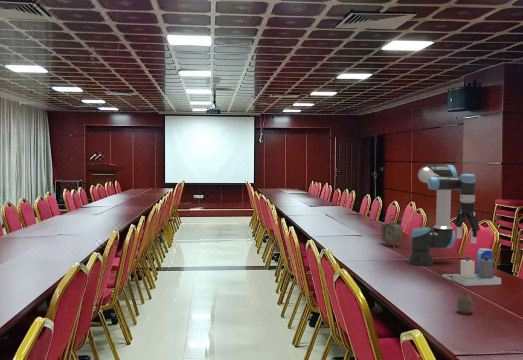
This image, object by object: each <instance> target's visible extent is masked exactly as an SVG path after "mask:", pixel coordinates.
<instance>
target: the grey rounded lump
mask: <svg viewBox="0 0 523 360" xmlns="http://www.w3.org/2000/svg"><path fill="white" fill-rule="evenodd" d="M456 309H457V311H458V312H459V313H461V314H465V315H466V314H467V315H468V314H471V313H472V311H473V309H474V301H473V299H472V298H471V296H470V295H469V292H464V291H463V292H461V294H460V295H459V296H458V298H457V299H456Z"/></svg>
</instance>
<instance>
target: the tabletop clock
mask: <svg viewBox="0 0 523 360" xmlns="http://www.w3.org/2000/svg"><path fill="white" fill-rule="evenodd" d="M391 216H392V217H394V218H391ZM388 218H389V222H388V223H383V224H382V227H381V239H382V241H383V242H385V243H384V244H383V245H384V246H387V244H393V245H392V248H394V249H395V247H396V243H400V242H402V239H403V227H402V226H401V225H400V224H398V223H396V221H395V220H396V216H395V215H394V214H390V215H389V217H388Z"/></svg>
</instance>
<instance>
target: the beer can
mask: <svg viewBox="0 0 523 360" xmlns="http://www.w3.org/2000/svg"><path fill="white" fill-rule="evenodd" d="M484 256H488V260H492V261H493V260H494V253H493V251H492V249H491V248H487V247H486V248H485V247H484V248H481V247H480V248H478V250H477V252H476V274H479V259H484ZM493 262H494V261H493Z"/></svg>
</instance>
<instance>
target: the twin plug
mask: <svg viewBox="0 0 523 360" xmlns="http://www.w3.org/2000/svg"><path fill="white" fill-rule="evenodd" d="M479 276H481V277H483V278H490V277H493V276H494V261H492V260H488V256H484V259H479Z"/></svg>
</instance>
